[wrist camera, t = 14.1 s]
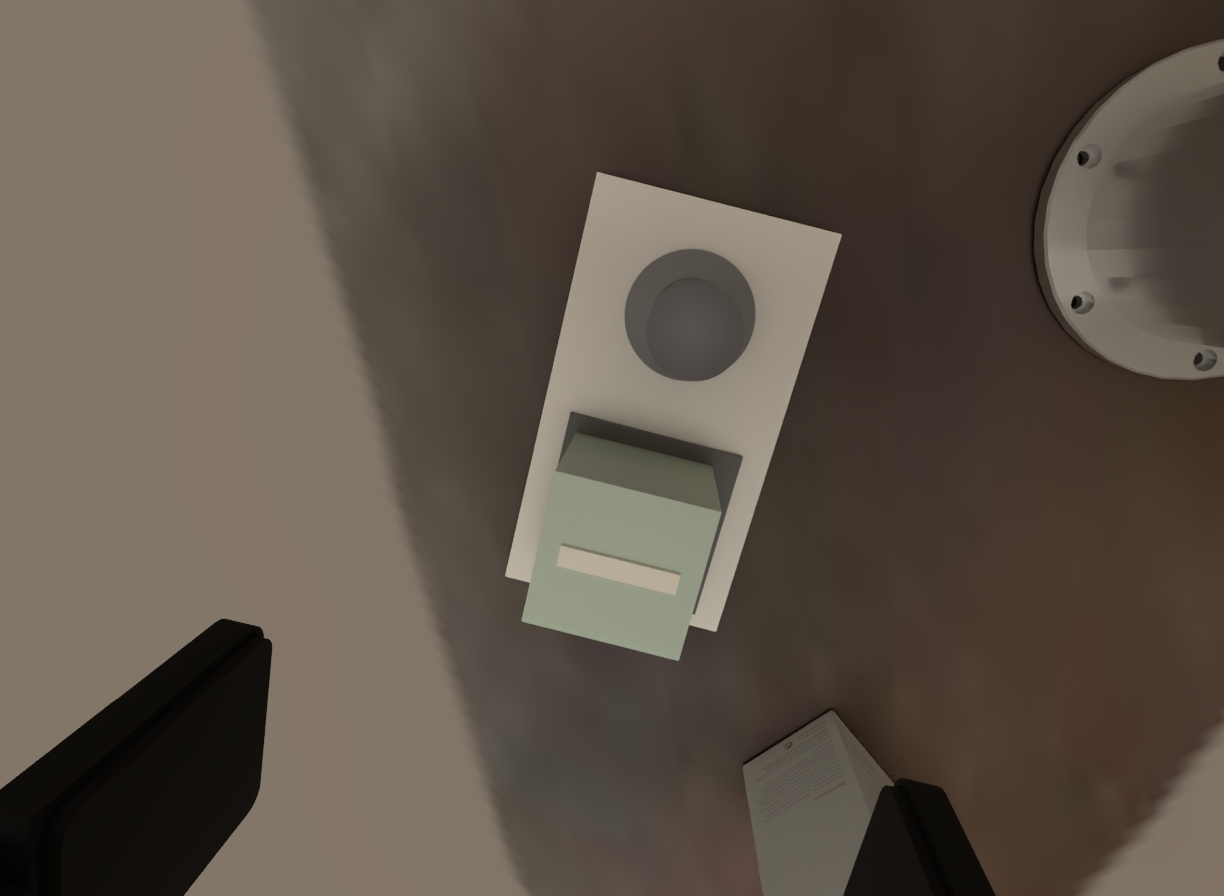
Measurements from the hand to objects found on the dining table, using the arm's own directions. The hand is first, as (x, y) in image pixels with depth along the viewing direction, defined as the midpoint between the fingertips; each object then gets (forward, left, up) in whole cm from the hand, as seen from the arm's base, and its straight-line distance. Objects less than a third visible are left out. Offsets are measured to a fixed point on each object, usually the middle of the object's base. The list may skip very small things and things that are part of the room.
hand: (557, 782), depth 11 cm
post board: (-1, -1, -23) cm, 23 cm away
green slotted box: (-1, +3, -21) cm, 22 cm away
